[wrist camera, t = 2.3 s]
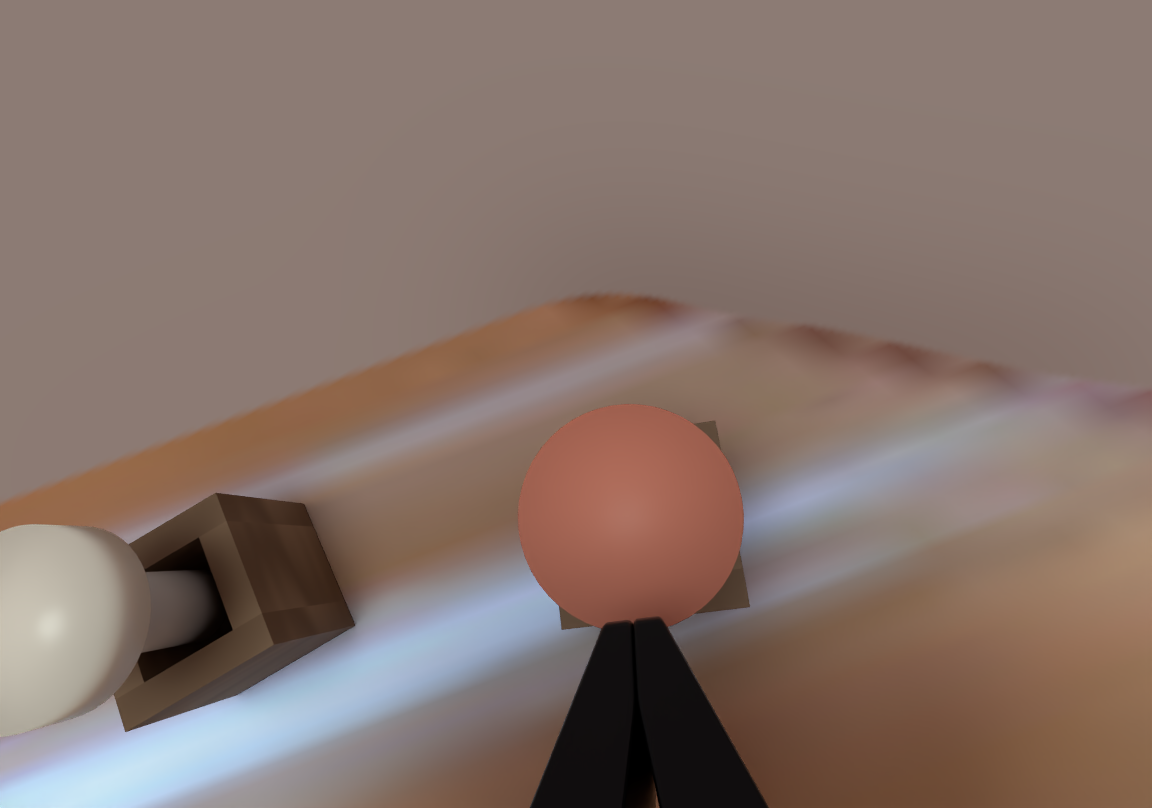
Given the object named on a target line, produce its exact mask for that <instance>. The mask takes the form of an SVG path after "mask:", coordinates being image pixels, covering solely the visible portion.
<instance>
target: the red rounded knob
mask: <svg viewBox="0 0 1152 808" xmlns="http://www.w3.org/2000/svg"><path fill="white" fill-rule="evenodd" d="M743 523H744V512H743V504H742V497H741V493H740V489H739V486H738V482H737V480H736V477H735V475H734V472H733V470H732V468H731V466H730V464H729V463H728V461H727V459H726V457H725V456H724V454H723V453H722V452H721V450H720V449H719V448H718V446H717V445H716V444H715V443H714V442H713V441H712V440H711V439H710V438H709V437H708V436H707V435H706V434H705V433H704V432H703V431H702V430H700V429H699V428H698V427H697V426H695V425H694V424H693V423H691V422H689V421H688V420H686V419H684V418H683V417H681V416H678V415H676V414H674V413H672V412H669V411H667V410H663V409H660V408H656V407H652V406H646V405H636V404H623V405H612V406H608V407H603V408H599V409H596V410H593V411H590V412H588V413H585V414H583V415H581V416H579V417H577V418H575V419H573V420H572V421H570V422H569V423H567V424H566V425H564V426H563V427H562V428H560V429H559V430H558V431H557V432H556V433H555V434H554V435H552V436H551V437H550V438H549V440H548V441H547V442H546V443H545V444H544V445H543V446H542V448H541V449H540V451H539V452H538V454H537V455H536V457H535V458H534V460H533V461H532V463H531V465H530V467H529V470H528V472H527V474H526V477H525V480H524V483H523V485H522V490H521V494H520V499H519V509H518V527H519V535H520V540H521V545H522V549H523V552H524V555H525V558H526V560H527V563H528V565H529V567H530V569H531V572H532V573H533V575H534V577H535V578H536V580H537V581H538V583H539V585H540V586H541V587H542V588H543V590H544V591H545V592H546V593H547V594H548V596H549V597H550V598H551V599H552V600H553V601H554V602H556V603H557V604H558V605H559V606H560V607H561V608H563V609H564V610H565V611H567V612H568V613H569V614H571V615H572V616H574V617H576V618H578V619H580V620H581V621H583V622H585V623H588V624H590V625H593V626H596V627H598V628H602V627H603V625H604V624H605V623H607V622H612V621H620V620H630V621H632V623H634V621H635V620H636V619H638V618H645V617H653V616H659V617H661V618H662V619H663V621H664V622H665V624H666V626H667V627H668V626H671V625H674V624H677V623H679V622H681V621H683V620H684V619H686V618H688V617H690V616H691V615H693V614H694V613H696V612H697V611H699V610H700V609H702V608H703V607H704V606H705V605H706V604H707V603H708V602H709V601H710V600H711V599H712V598H713V597H714V596H715V595H716V594H717V592H718V591H719V590H720V589H721V588H722V586H723V585H724V583H725V582H726V580H727V578H728V577H729V575H730V573H731V571H732V569H733V567H734V564H735V562H736V560H737V557H738V554H739V550H740V546H741V542H742V535H743Z"/></svg>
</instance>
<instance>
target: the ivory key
mask: <svg viewBox="0 0 1152 808" xmlns="http://www.w3.org/2000/svg"><path fill="white" fill-rule="evenodd" d="M225 615H226V610H225V607H224V604H223V602H222V599H221V596H220V593H219V591H218V588H217V585H216V582H215V580H214V577H213V574H212V572H210V571H207V570H182V571H159V572H145V570H144V568H143V565H142V563H141V561H140V560H139V558H138V556H137V555H136V553H135V552H134V551H133V550H132V548H131V547H130V546H129V545H128V544H127V543H126V542H125V541H124V540H122V539H121V538H120V537H118V536H116V535H115V534H113V533H111V532H109V531H106V530H104V529H100V528H96V527H87V526H65V525H40V524H31V525H21V526H17V527H12V528H9V529H7V530H4V531H1V532H0V737H6V736H12V735H17V734H20V733H24V732H27V731H31V730H35V729H38V728H42V727H45V726H49V725H52V724H56V723H59V722H63V721H67V720H70V719H73V718H76V717H79V716H82V715H84V714H86V713H88V712H90V711H92V710H94V709H95V708H97V707H98V706H100V705H101V704H103V703H104V702H105V701H106V700H108V699H109V698H110V697H111V696H112V695H113V694H114V693H115V692H116V691H117V690H118V689H119V688H120V687H121V686H122V684H123V683H124V682H125V680H126V679H127V678H128V676H129V675H130V673H131V672H132V670H133V668H134V666H135V665H136V663H137V661H138V659H139V657H140V654H141V653H143V652H148V651H153V650H158V649H163V648H168V647H174V646H179V645H184V644H189V643H194V642H199V641H202V640H205V639H207V638H208V637H210V636H211V635H212V634H214V633H215V632H216V631H217V629H218V628H219V627H220V625H221V624H222V622H223V620H224V618H225Z"/></svg>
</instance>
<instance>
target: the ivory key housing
mask: <svg viewBox="0 0 1152 808" xmlns="http://www.w3.org/2000/svg"><path fill="white" fill-rule="evenodd" d="M129 546H130V547H131V548H132V550H133V551H134V552H135V553H136V555H137V556H138V558H139V560H140V561H141V563H142V565H143V568H144V570H145V572H159V571H182V570H207V571H210V572H212V574H213V577H214V580H215V582H216V585H217V588H218V591H219V593H220V596H221V599H222V602H223V604H224V607H225V610H226V615H225V618H224V620H223V622H222V624H221V625H220V627H219V628H218V629H217V631H216V632H215V633H214V634H212V635H211V636H210V637H208V638H207V639H205V640H202V641H199V642H194V643H189V644H184V645H179V646H174V647H168V648H163V649H158V650H153V651H148V652H143V653H141V654H140V657H139V659H138V661H137V663H136V665H135V666H134V668H133V670H132V672H131V673H130V675H129V676H128V678H127V679H126V680H125V682H124V683H123V684H122V686H121V687H120V688H119V689H118V690H117V691H116V692H115V693H114V696H115V699H116V703H117V706H118V709H119V713H120V716H121V719H122V722H123V726H124V729H125V732H127V731H130V730H133V729H136V728H139V727H142V726H145V725H148V724H151V723H154V722H157V721H160V720H163V719H166V718H169V717H172V716H175V715H178V714H181V713H184V712H187V711H190V710H193V709H196V708H199V707H202V706H205V705H208V704H211V703H215V702H218V701H221V700H224V699H227V698H230V697H233V696H236V695H238V694H239V693H241V692H243V691H244V690H246V689H248V688H250V687H251V686H253V685H255V684H256V683H258V682H260V681H261V680H263V679H265V678H267V677H268V676H270V675H272V674H273V673H275V672H277V671H279V670H280V669H282V668H284V667H285V666H287V665H289V664H290V663H292V662H294V661H296V660H297V659H299V658H301V657H302V656H304V655H306V654H307V653H309V652H311V651H313V650H314V649H316V648H318V647H319V646H321V645H323V644H324V643H326V642H328V641H330V640H331V639H333V638H335V637H336V636H338V635H340V634H342V633H343V632H345V631H347V630H348V629H350V628H352V627H353V626H355V624H354V622H353V619H352V617H351V615H350V612H349V610H348V608H347V605H346V603H345V601H344V598H343V596H342V593H341V591H340V589H339V586H338V584H337V582H336V579H335V577H334V575H333V572H332V570H331V568H330V565H329V563H328V560H327V558H326V556H325V553H324V551H323V549H322V546H321V544H320V542H319V539H318V537H317V534H316V532H315V530H314V527H313V525H312V523H311V520H310V518H309V516H308V513H307V511H306V509H305V506H304V504H301V503H293V502H285V501H277V500H269V499H261V498H253V497H245V496H237V495H229V494H221V493H215V494H213V495H211V496H209V497H208V498H206V499H204V500H203V501H201V502H199V503H198V504H196V505H194V506H193V507H191V508H189V509H188V510H186V511H184V512H183V513H181V514H179V515H177V516H176V517H174V518H172V519H171V520H169V521H167V522H166V523H164V524H162V525H161V526H159V527H157V528H156V529H154V530H152V531H151V532H149V533H147V534H145V535H144V536H142V537H140V538H139V539H137V540H135V541H134V542H132V543H130V544H129Z"/></svg>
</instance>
